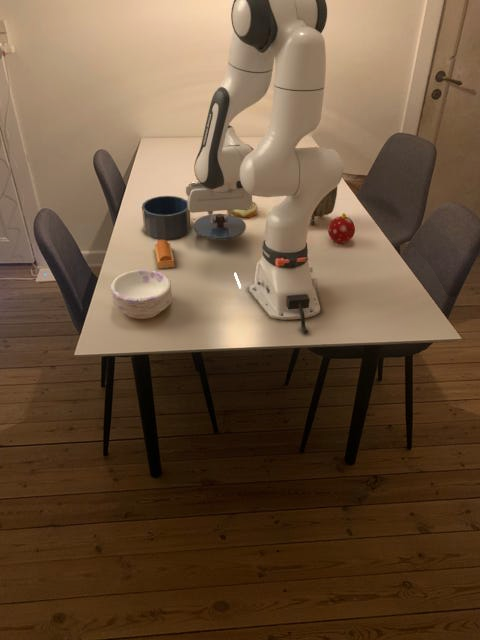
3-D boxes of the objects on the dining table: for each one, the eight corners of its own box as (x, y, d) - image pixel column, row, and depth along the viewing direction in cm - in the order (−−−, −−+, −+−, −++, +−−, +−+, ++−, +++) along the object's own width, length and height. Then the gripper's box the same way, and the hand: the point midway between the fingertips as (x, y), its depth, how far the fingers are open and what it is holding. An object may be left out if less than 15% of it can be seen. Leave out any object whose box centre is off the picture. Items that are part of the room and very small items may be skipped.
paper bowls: (174, 292, 135) (172, 268, 130) (170, 326, 123) (168, 300, 118) (119, 292, 134) (115, 267, 129) (109, 326, 122) (104, 300, 117)
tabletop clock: (323, 214, 177) (333, 145, 162) (334, 225, 170) (345, 154, 155) (286, 219, 173) (292, 149, 158) (296, 230, 166) (304, 158, 151)
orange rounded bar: (174, 267, 146) (173, 255, 143) (158, 268, 145) (157, 257, 142) (170, 249, 154) (169, 238, 152) (155, 250, 153) (154, 239, 151)
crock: (194, 237, 161) (193, 213, 156) (145, 241, 158) (143, 217, 153) (187, 217, 173) (186, 194, 168) (142, 220, 170) (140, 197, 165)
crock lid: (251, 238, 152) (251, 225, 149) (197, 243, 149) (197, 229, 146) (239, 215, 165) (239, 202, 162) (190, 219, 161) (189, 205, 159)
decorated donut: (246, 221, 171) (246, 211, 169) (222, 213, 176) (222, 204, 173) (262, 211, 178) (263, 202, 175) (238, 204, 183) (238, 194, 180)
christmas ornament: (333, 249, 157) (337, 220, 151) (322, 236, 163) (326, 209, 157) (357, 246, 159) (362, 217, 153) (345, 234, 165) (350, 206, 159)
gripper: (187, 186, 142) (188, 229, 151) (254, 182, 146) (252, 224, 155) (184, 178, 147) (186, 220, 156) (249, 174, 151) (248, 215, 159)
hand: (219, 222), depth 155 cm, fingers closed on crock lid, 2 cm apart
